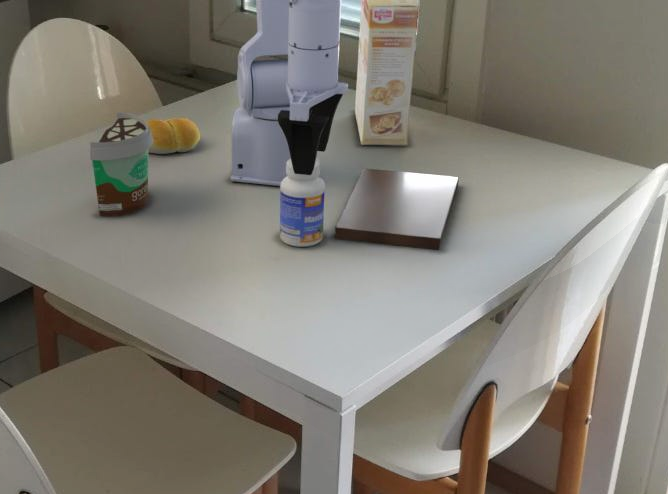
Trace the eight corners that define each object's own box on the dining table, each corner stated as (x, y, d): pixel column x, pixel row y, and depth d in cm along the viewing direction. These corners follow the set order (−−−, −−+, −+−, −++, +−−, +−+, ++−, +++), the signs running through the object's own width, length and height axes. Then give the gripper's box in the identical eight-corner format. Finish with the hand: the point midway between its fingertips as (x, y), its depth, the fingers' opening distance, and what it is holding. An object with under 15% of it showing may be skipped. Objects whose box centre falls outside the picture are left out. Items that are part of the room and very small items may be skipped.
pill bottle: (309, 251, 134) (311, 174, 128) (271, 241, 136) (272, 165, 130) (330, 235, 138) (334, 159, 132) (293, 225, 140) (295, 150, 134)
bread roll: (207, 151, 160) (206, 123, 158) (147, 159, 158) (145, 131, 156) (190, 132, 167) (189, 105, 164) (132, 139, 164) (131, 112, 162)
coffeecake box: (408, 146, 162) (420, 5, 150) (360, 146, 162) (368, 5, 150) (399, 111, 173) (409, -22, 161) (353, 111, 174) (360, -22, 162)
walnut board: (334, 238, 137) (335, 227, 136) (363, 178, 152) (363, 167, 151) (439, 250, 134) (440, 238, 133) (457, 187, 149) (459, 176, 148)
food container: (142, 224, 140) (137, 147, 134) (96, 220, 141) (88, 143, 135) (167, 186, 150) (163, 113, 144) (123, 183, 151) (118, 110, 145)
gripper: (336, 64, 117) (331, 187, 125) (360, 27, 128) (354, 143, 136) (271, 59, 118) (270, 181, 126) (301, 23, 129) (298, 138, 137)
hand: (310, 161), depth 131 cm, fingers open, 7 cm apart
